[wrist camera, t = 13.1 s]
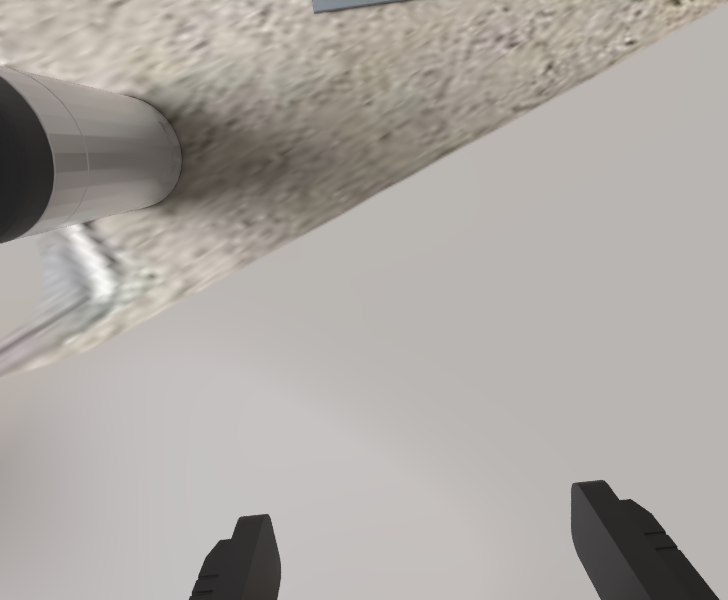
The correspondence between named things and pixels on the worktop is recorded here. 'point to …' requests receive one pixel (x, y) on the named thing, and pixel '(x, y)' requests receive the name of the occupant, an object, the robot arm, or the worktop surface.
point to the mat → (344, 4)
